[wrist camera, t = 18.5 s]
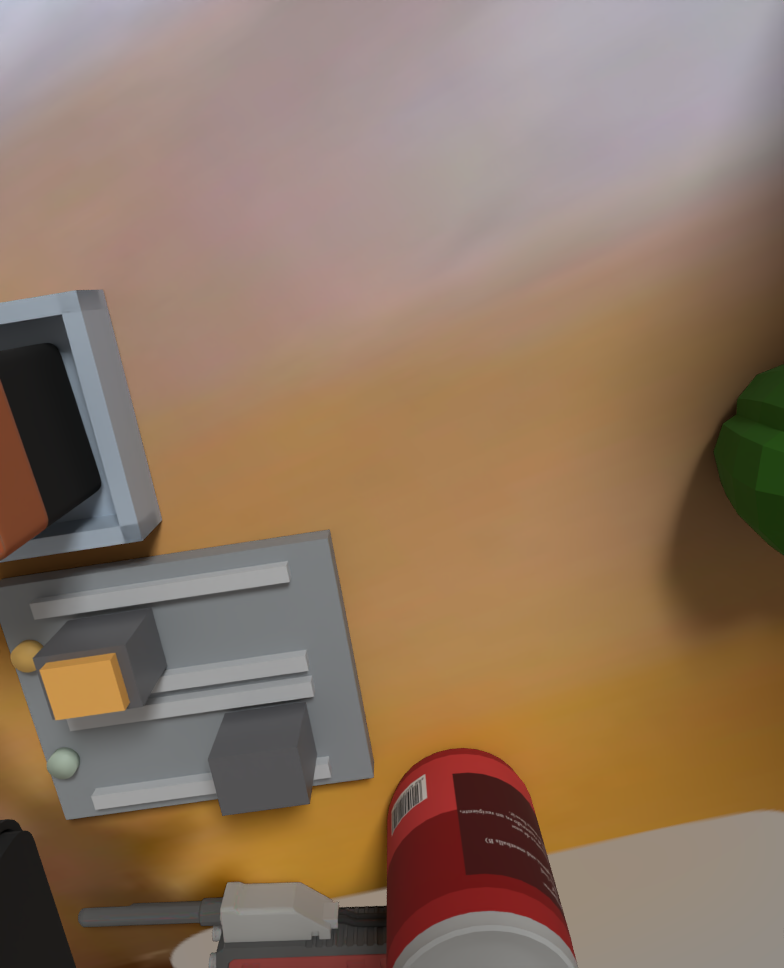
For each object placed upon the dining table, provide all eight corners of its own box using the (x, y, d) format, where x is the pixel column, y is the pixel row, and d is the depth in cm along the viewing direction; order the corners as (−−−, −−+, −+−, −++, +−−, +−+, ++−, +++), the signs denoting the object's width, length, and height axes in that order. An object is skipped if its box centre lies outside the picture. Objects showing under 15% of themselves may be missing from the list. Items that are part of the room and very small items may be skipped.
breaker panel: (2, 578, 35) (-19, 594, 33) (329, 529, 34) (326, 543, 32) (76, 803, 38) (61, 828, 36) (373, 762, 38) (373, 785, 36)
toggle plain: (224, 713, 35) (207, 759, 32) (305, 701, 35) (297, 747, 31) (238, 765, 36) (222, 815, 32) (317, 754, 36) (309, 803, 32)
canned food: (390, 871, 39) (392, 1087, 29) (382, 745, 37) (381, 929, 27) (530, 865, 39) (582, 1079, 29) (530, 738, 37) (587, 920, 27)
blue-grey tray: (-90, 321, 31) (-135, 324, 29) (102, 289, 31) (75, 290, 28) (-15, 546, 34) (-50, 569, 31) (162, 520, 34) (142, 540, 31)
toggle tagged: (67, 620, 34) (25, 665, 30) (151, 607, 33) (120, 651, 29) (85, 676, 34) (46, 728, 30) (167, 665, 34) (138, 714, 30)
